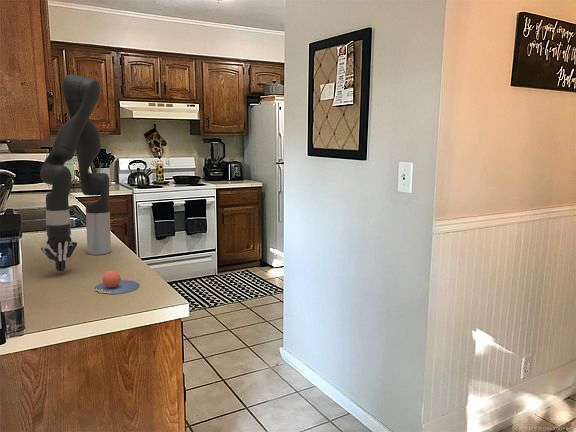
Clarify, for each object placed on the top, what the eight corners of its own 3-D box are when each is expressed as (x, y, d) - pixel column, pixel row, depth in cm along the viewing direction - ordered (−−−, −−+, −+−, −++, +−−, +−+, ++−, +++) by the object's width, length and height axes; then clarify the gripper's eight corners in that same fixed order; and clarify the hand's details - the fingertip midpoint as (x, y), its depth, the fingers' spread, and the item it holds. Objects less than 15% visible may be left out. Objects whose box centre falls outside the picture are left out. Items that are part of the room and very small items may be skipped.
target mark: (95, 282, 161) (95, 281, 161) (139, 279, 165) (139, 279, 165) (92, 296, 147) (92, 295, 147) (140, 292, 152) (140, 291, 152)
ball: (121, 278, 153) (116, 293, 154) (123, 270, 158) (119, 284, 159) (103, 274, 151) (98, 289, 153) (106, 266, 156) (102, 280, 158)
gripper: (47, 226, 157) (50, 277, 160) (82, 220, 168) (84, 268, 171) (33, 224, 161) (36, 273, 164) (68, 218, 172) (70, 264, 175)
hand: (61, 270), depth 168 cm, fingers closed
